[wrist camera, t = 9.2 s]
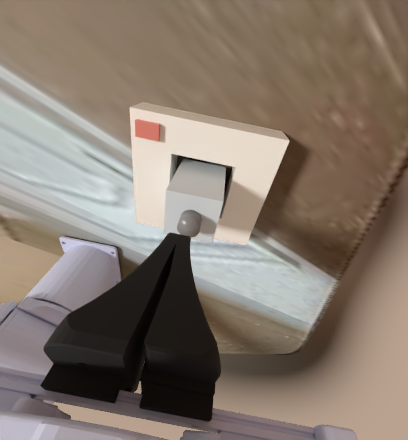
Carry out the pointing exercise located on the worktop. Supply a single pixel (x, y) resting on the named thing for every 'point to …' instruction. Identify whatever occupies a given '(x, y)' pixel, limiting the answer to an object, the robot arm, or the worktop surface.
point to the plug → (195, 200)
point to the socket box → (208, 151)
